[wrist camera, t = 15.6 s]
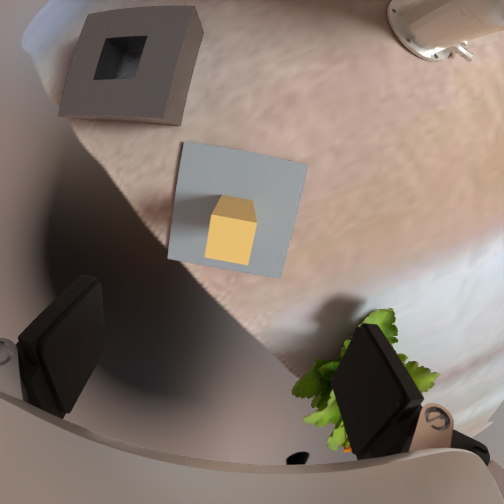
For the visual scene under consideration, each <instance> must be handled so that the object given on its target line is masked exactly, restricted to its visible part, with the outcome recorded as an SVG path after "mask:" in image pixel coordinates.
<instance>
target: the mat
mask: <svg viewBox="0 0 504 504" xmlns="http://www.w3.org/2000/svg"><path fill="white" fill-rule="evenodd" d="M307 168H308V165H305V164H301V163H297V162H293V161H288V160H284V159H280V158H275V157H271V156H266V155H261V154H256V153H251V152H246V151H241V150H235V149H230V148H224V147H218V146H212V145H205V144H198V143H191V142H184V145H183V150H182V156H181V161H180V167H179V173H178V180H177V186H176V193H175V200H174V207H173V214H172V222H171V231H170V240H169V249H168V259H173V260H178V261H183V262H189V263H194V264H199V265H205V266H210V267H216V268H221V269H227V270H232V271H238V272H244V273H249V274H255V275H261V276H267V277H273V278H279V279H280V278H281V274H282V270H283V267H284V263H285V259H286V255H287V251H288V247H289V243H290V239H291V235H292V231H293V227H294V223H295V219H296V215H297V211H298V207H299V203H300V199H301V194H302V190H303V186H304V182H305V177H306V173H307ZM222 195H227V196H232V197H238V198H243V199H248V200H253V203H254V209H255V214H256V219H257V226H256V231H255V236H254V240H253V245H252V249H251V254H250V259H249V263H248V265H243V264H238V263H232V262H227V261H221V260H216V259H210V258H205V251H206V244H207V238H208V232H209V226H210V220H211V214H212V212H213V211H214V209H215V207H216V205H217V203H218V201H219V199H220V198H221V196H222Z"/></svg>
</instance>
